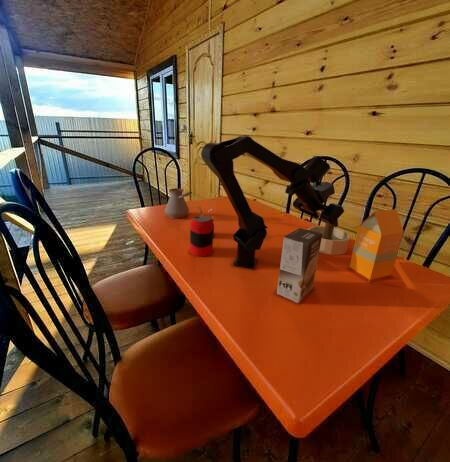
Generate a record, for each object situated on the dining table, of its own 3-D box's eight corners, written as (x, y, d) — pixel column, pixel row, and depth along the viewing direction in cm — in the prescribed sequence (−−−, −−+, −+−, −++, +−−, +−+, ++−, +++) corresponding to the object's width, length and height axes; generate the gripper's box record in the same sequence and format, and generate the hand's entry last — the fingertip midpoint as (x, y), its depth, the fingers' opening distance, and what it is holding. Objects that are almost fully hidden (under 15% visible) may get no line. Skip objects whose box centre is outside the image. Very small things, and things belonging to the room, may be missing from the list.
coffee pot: (161, 214, 124) (159, 183, 119) (183, 211, 130) (182, 182, 125) (179, 228, 107) (179, 193, 102) (203, 223, 113) (203, 190, 108)
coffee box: (299, 304, 62) (308, 244, 57) (276, 293, 66) (282, 236, 60) (313, 288, 69) (323, 233, 63) (291, 279, 72) (298, 226, 67)
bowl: (349, 260, 85) (352, 243, 83) (305, 252, 89) (307, 237, 87) (344, 243, 98) (347, 229, 96) (306, 237, 102) (308, 223, 100)
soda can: (199, 245, 92) (199, 213, 88) (216, 250, 88) (217, 217, 84) (185, 252, 86) (185, 219, 82) (204, 259, 82) (204, 224, 78)
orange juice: (348, 268, 79) (361, 207, 73) (369, 264, 82) (384, 205, 76) (369, 282, 72) (386, 215, 66) (391, 277, 75) (410, 213, 69)
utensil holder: (210, 239, 97) (211, 209, 93) (195, 236, 99) (195, 207, 95) (216, 234, 102) (216, 205, 98) (201, 231, 104) (202, 203, 100)
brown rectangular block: (333, 249, 90) (342, 207, 85) (319, 247, 92) (326, 206, 86) (332, 244, 95) (340, 204, 90) (318, 242, 96) (325, 202, 91)
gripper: (345, 180, 74) (364, 212, 82) (303, 170, 90) (322, 198, 98) (320, 208, 73) (341, 238, 81) (282, 193, 90) (303, 220, 97)
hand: (326, 221), depth 89 cm, fingers open, 9 cm apart
